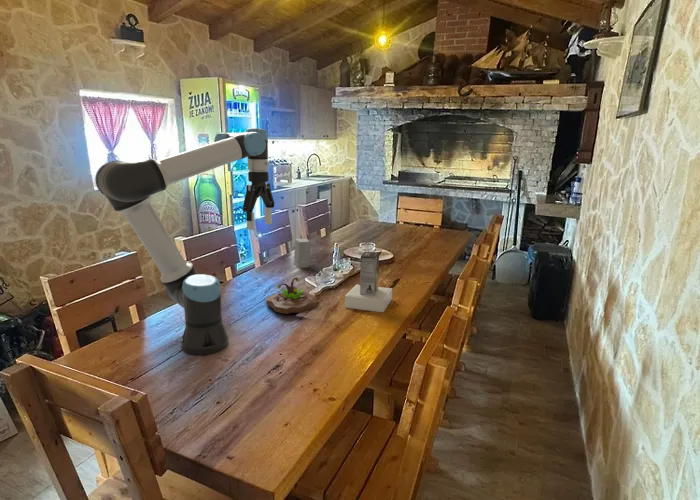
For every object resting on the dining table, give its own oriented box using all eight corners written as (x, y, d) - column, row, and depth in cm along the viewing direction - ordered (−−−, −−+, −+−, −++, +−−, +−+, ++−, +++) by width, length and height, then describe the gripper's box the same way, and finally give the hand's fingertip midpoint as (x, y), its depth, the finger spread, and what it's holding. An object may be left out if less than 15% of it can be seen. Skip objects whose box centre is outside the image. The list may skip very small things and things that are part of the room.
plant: (325, 307, 172) (325, 281, 169) (280, 316, 162) (279, 288, 159) (303, 293, 188) (303, 269, 186) (261, 300, 178) (261, 275, 176)
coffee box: (363, 287, 180) (364, 251, 176) (378, 288, 179) (379, 252, 175) (359, 294, 171) (360, 256, 168) (375, 295, 170) (376, 257, 166)
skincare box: (293, 267, 230) (293, 238, 226) (305, 265, 233) (305, 237, 229) (298, 271, 222) (298, 241, 219) (311, 269, 225) (311, 240, 222)
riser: (383, 312, 167) (383, 299, 165) (344, 307, 171) (345, 295, 170) (391, 299, 181) (392, 287, 180) (356, 295, 186) (356, 283, 185)
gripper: (249, 172, 146) (251, 232, 151) (282, 170, 169) (283, 222, 174) (230, 171, 148) (233, 231, 153) (265, 169, 172) (266, 221, 176)
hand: (259, 226), depth 164 cm, fingers open, 13 cm apart
